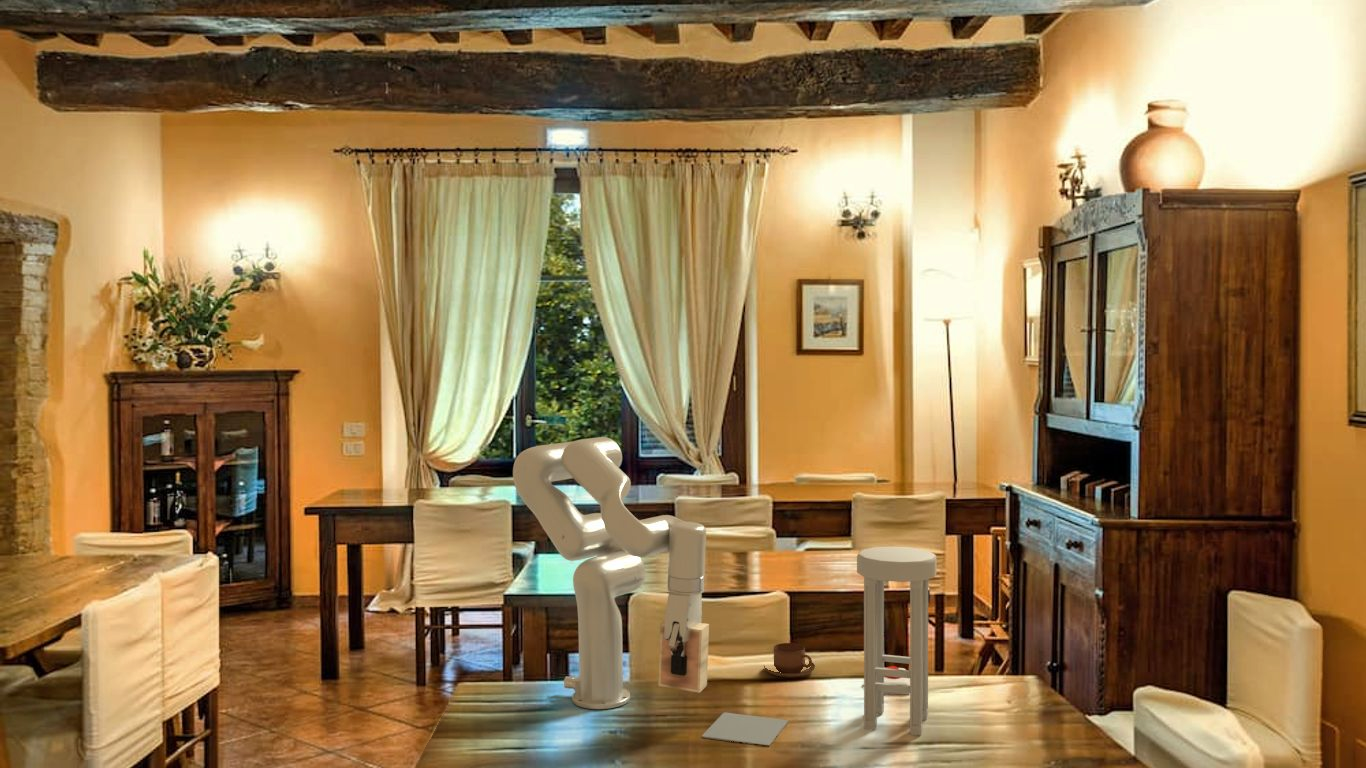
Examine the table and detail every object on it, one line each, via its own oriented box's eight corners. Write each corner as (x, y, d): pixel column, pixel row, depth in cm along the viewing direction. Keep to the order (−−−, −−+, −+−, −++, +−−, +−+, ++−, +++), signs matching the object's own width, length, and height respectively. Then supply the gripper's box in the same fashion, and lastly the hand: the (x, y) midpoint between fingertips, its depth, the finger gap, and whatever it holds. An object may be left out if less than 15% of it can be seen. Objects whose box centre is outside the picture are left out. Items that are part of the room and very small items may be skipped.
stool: (865, 705, 230) (865, 544, 228) (939, 713, 225) (939, 548, 223) (851, 731, 216) (851, 558, 214) (930, 740, 210) (930, 563, 209)
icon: (863, 659, 250) (907, 660, 248) (863, 677, 250) (907, 678, 248) (865, 676, 238) (911, 677, 236) (865, 695, 238) (911, 696, 236)
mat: (701, 737, 213) (701, 736, 213) (723, 713, 226) (723, 712, 226) (769, 746, 208) (769, 745, 208) (788, 721, 221) (788, 720, 221)
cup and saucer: (819, 667, 257) (819, 642, 256) (808, 683, 245) (808, 657, 245) (771, 663, 260) (770, 638, 260) (758, 678, 249) (757, 652, 249)
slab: (658, 685, 220) (660, 623, 219) (666, 678, 225) (668, 618, 223) (699, 692, 217) (701, 630, 216) (706, 685, 221) (709, 624, 220)
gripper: (683, 571, 228) (680, 655, 230) (653, 591, 213) (650, 680, 214) (716, 575, 226) (713, 660, 227) (688, 596, 210) (685, 686, 211)
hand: (683, 669), depth 221 cm, fingers closed on slab, 4 cm apart
